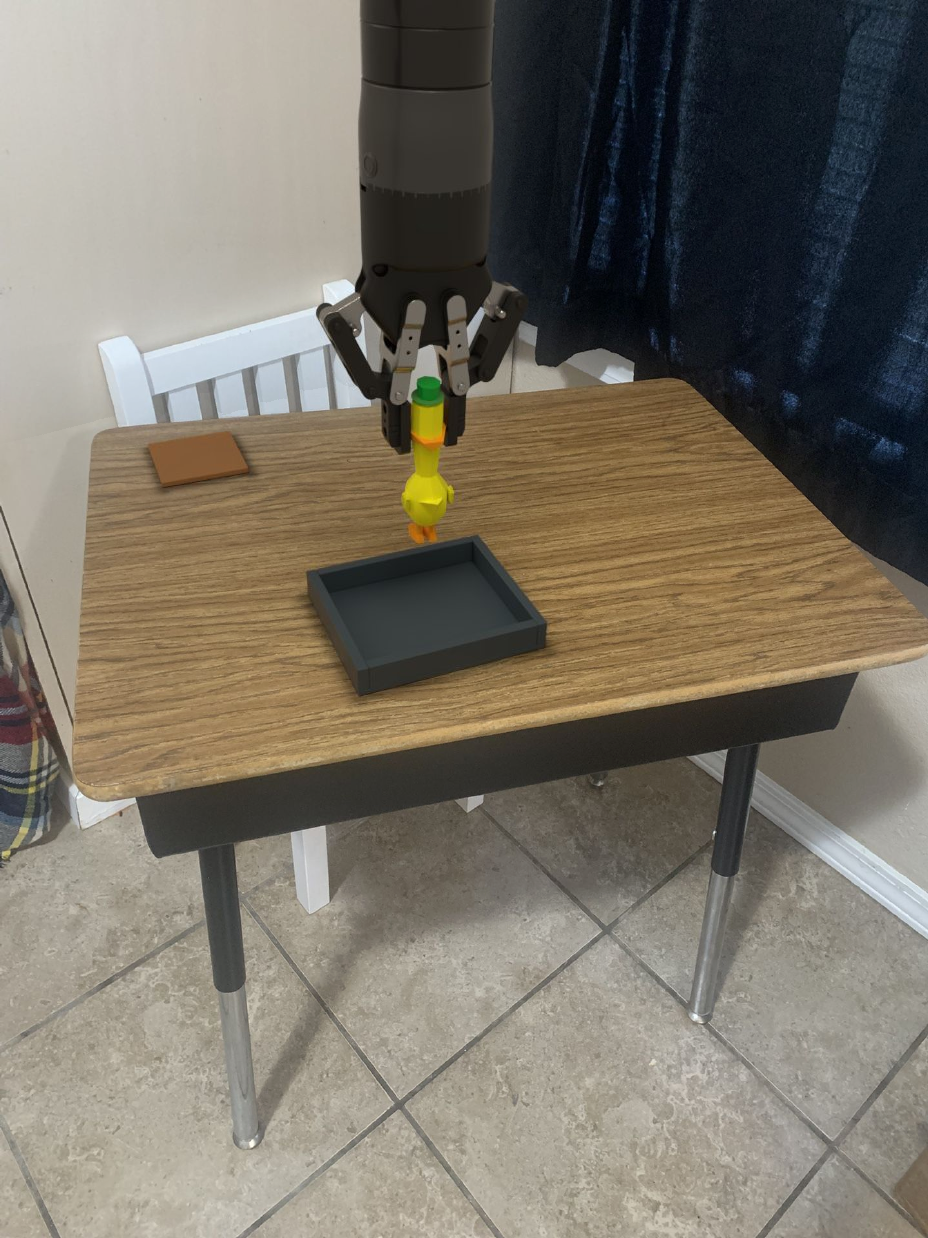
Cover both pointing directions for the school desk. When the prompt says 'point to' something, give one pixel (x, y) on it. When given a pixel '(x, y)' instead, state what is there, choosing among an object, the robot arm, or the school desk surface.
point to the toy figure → (426, 462)
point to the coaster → (197, 458)
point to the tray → (423, 613)
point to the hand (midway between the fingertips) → (423, 444)
